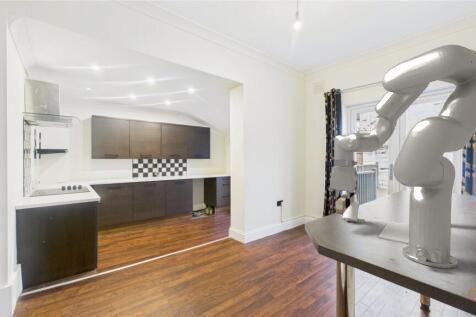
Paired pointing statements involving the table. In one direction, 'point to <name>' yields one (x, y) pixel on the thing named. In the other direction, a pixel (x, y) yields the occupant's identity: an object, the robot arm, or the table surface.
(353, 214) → the white bottle
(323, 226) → the table surface
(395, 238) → the grey mat
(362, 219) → the sage stop bar
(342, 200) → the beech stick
